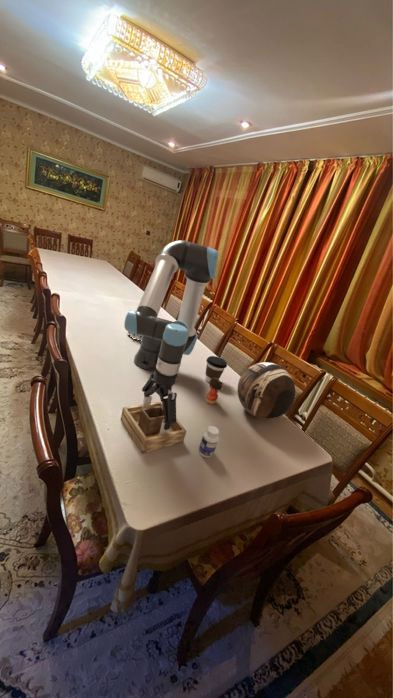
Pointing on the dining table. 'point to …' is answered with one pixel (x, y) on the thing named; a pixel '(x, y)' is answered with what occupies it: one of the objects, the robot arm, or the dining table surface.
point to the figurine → (213, 390)
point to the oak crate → (153, 441)
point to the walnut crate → (151, 420)
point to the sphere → (266, 390)
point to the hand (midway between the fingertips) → (153, 423)
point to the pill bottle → (209, 442)
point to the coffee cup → (214, 367)
